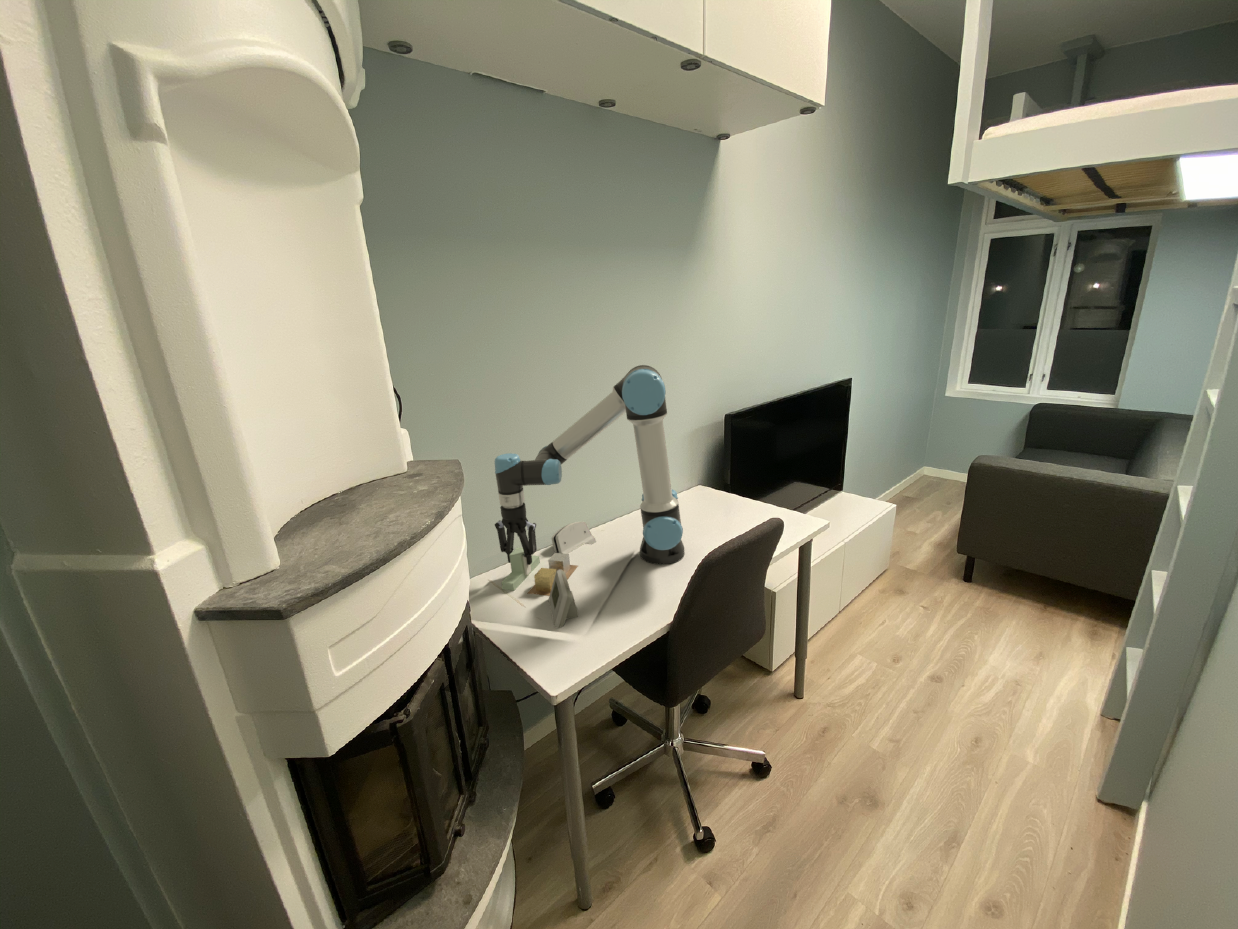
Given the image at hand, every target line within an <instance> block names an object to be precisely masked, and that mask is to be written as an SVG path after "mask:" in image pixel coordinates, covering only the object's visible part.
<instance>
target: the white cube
mask: <svg viewBox="0 0 1238 929" xmlns="http://www.w3.org/2000/svg"><path fill="white" fill-rule="evenodd" d="M570 561H571V560H570V553H568V554H562V553H556V552H554V553H553V555H551V556H550V557H549V558H548V560H547V562H548V568H549V569H556V571H558V570H559V569H561V570H563V571H564V572H565V574H566V573H567V572H568V570H569V569H570V565H571V563H570Z"/></svg>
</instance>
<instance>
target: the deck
mask: <svg viewBox="0 0 1238 929" xmlns="http://www.w3.org/2000/svg"><path fill="white" fill-rule="evenodd" d="M578 567H579V565H576V564H570V569H569V570H568V572H567V573H566V577H567V581H568V580H569V578H570V577H571V576H572V575H573V573H574V572H575V571H576V569H577V568H578ZM526 593H527V594H528V595H536V596H537V595H538V596H545V597H549V596H550V592H545V591H536V586H535V584H533V586H532V587H531V588H530V589H529V590H528V592H526Z"/></svg>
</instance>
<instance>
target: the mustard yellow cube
mask: <svg viewBox="0 0 1238 929" xmlns="http://www.w3.org/2000/svg"><path fill="white" fill-rule="evenodd" d="M555 574H556V569H549V567H548V568H547V567H541V568H540V569H539V570H538V571H537V572H536V573H535V574H534V575H533V577H534V585H535V586H536V591H545V592H551V589H552V585H553V581H554V578H555Z"/></svg>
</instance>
